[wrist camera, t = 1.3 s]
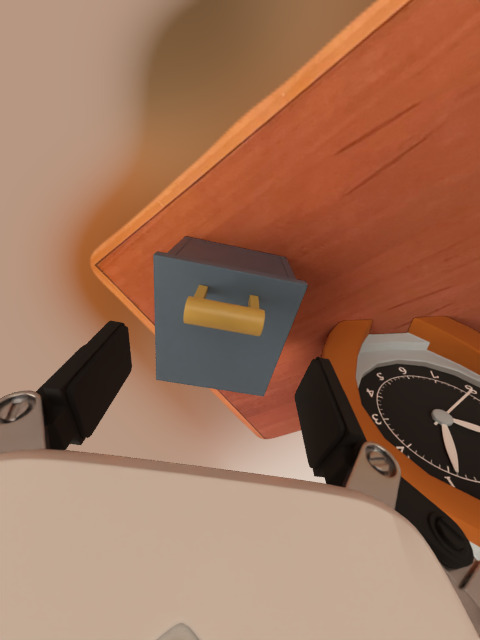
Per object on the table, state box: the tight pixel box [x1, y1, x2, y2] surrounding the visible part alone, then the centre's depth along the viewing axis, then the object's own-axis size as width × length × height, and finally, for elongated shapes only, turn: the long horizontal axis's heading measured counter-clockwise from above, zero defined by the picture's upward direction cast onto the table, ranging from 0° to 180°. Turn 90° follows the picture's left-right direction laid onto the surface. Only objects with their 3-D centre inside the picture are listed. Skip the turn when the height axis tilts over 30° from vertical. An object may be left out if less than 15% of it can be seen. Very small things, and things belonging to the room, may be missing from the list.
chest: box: [167, 236, 296, 279], centre depth 24 cm, size 13×12×9 cm
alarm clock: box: [321, 316, 480, 561], centre depth 22 cm, size 22×10×23 cm, turn 94°
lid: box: [153, 252, 308, 396], centre depth 18 cm, size 13×12×5 cm
